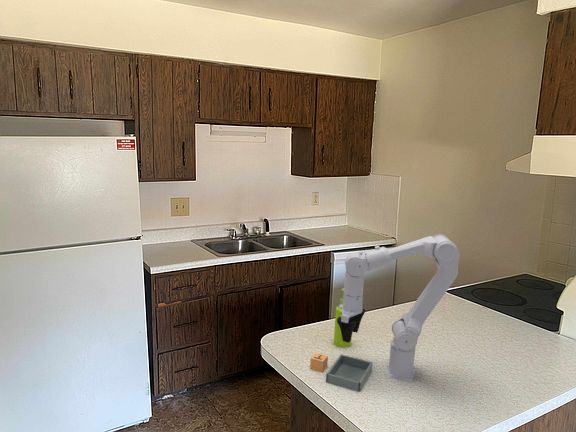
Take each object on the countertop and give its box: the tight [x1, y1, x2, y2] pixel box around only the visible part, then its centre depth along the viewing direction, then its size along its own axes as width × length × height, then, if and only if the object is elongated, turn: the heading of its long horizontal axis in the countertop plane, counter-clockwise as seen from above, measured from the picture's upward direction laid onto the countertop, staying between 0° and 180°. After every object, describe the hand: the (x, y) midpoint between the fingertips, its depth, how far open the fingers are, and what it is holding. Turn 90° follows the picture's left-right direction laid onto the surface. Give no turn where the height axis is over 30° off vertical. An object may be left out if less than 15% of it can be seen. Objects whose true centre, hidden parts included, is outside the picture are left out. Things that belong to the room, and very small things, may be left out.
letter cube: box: [309, 352, 329, 373], centre depth 131 cm, size 4×4×4 cm
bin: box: [325, 354, 373, 392], centre depth 127 cm, size 13×10×3 cm
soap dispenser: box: [333, 287, 353, 349], centre depth 146 cm, size 6×7×20 cm
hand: (350, 336), depth 131 cm, fingers open, 7 cm apart
